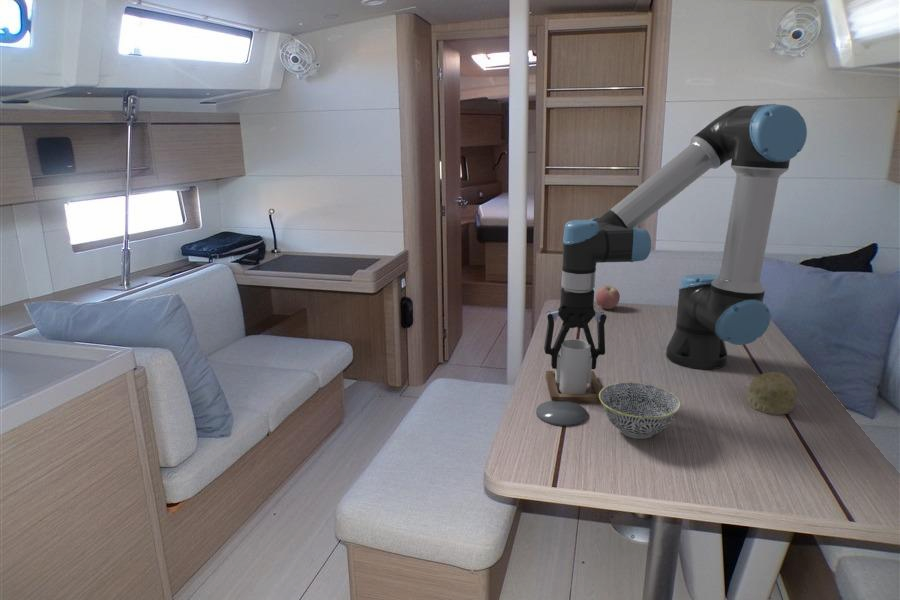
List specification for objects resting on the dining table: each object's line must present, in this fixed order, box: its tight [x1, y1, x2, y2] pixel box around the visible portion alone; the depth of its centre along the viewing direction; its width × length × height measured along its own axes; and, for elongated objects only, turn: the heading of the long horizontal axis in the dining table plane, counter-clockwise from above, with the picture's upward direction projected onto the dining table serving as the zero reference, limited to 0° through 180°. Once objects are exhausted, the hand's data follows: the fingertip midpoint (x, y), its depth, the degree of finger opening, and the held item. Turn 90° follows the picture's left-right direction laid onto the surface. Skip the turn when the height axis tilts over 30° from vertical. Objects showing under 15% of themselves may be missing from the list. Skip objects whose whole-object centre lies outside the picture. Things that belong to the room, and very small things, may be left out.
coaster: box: [535, 400, 588, 427], centre depth 132 cm, size 11×11×1 cm
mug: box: [558, 338, 591, 394], centre depth 142 cm, size 10×7×12 cm, turn 155°
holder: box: [544, 370, 603, 404], centre depth 144 cm, size 12×15×2 cm
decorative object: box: [746, 371, 798, 416], centre depth 133 cm, size 9×10×10 cm
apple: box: [595, 285, 620, 310], centre depth 204 cm, size 8×8×8 cm
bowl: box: [599, 381, 682, 440], centre depth 123 cm, size 16×16×8 cm
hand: (572, 380), depth 144 cm, fingers closed on mug, 7 cm apart
